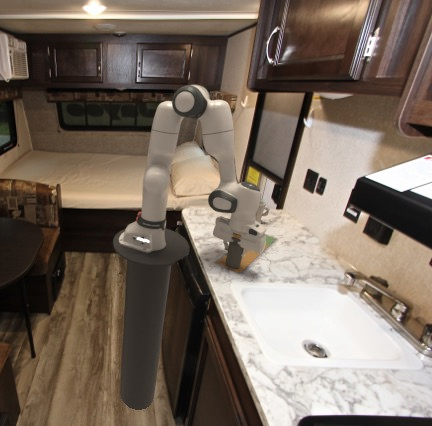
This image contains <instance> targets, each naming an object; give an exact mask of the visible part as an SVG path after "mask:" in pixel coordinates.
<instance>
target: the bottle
mask: <svg viewBox="0 0 432 426" xmlns="http://www.w3.org/2000/svg"><path fill="white" fill-rule="evenodd" d="M239 238H241V235H239V234H236V233H233V237H231V239H232V240H233V242H228V251H227V252H226V255H227V257H226V263H225V264H226V265H227V266H228V267H230V268H239V267H240V265H241V260H242V257H241V253H243V250H244V248H242V247H241V246H240V245H239V244H238V242H240V241H241V240H240V239H239Z"/></svg>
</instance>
